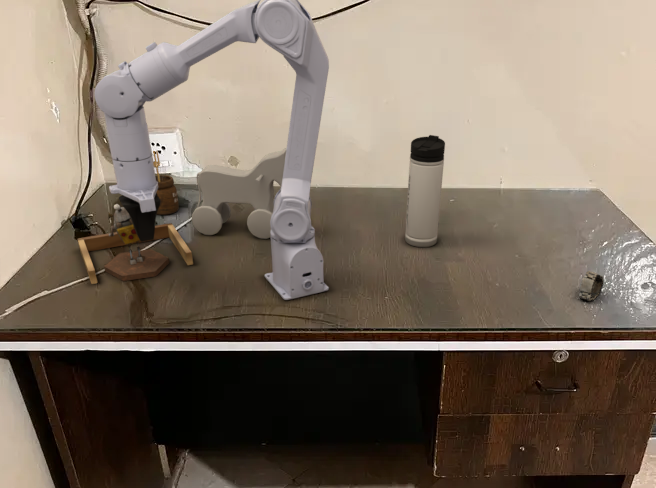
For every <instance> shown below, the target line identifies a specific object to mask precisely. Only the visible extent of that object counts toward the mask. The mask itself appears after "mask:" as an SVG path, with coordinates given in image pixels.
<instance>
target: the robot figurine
mask: <svg viewBox="0 0 656 488" xmlns="http://www.w3.org/2000/svg"><path fill="white" fill-rule="evenodd" d="M113 209H114V210H115V211H114V213H113V214H112V213H110V212H108V217H107V218H108V220H110V219H111V218H113V225H111V226H110V232H109V233H110V234H109V237H110V236H111V237H112V236H114V231H116V232H117V234H118V235H119V237H120V238H121V240H122V241H123V242H124V243H125V244H127V245H126V246H128V247H129V249H128V251H125V252H119V253H118V254H117V255H116V256H114V257H113V258H112V259H110V261H108V262H107V263H106V264H104V265H103V266H104V267H103V270H104V272H105V273H107V274H109V275H111V276H113V277H114V278H116V279H118V280H119V281H122V282H127V281H132V280H140V279H146V278H147V279H148V278H153V277H155V278H156V277H157V276H158V275H159V274H160V273H161V272H162V271H163V270H164V269H165V268H166V267H167V266H168V265H169V264H170V258H169V257H168V256H166V255H164V254H162V253H160V252H158V251H156V250H154V249H151V248H149V249H148V248H147V249H141V246H139V243H138V242H139V241H140V239H139V237H138V236H137V233H136V231H135V228H134V226H133V223H132V220H131V218H130V216H129V213H128V212H127V211H126V209H125V208H124V207H123V206H121V205H120V204H118V203H116V204H114V205H113ZM133 242H136V243H135V244H137V246H136V249H137V250H132V248H131V246H132V244H131V243H133Z"/></svg>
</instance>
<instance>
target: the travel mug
mask: <svg viewBox="0 0 656 488" xmlns="http://www.w3.org/2000/svg"><path fill="white" fill-rule="evenodd" d="M445 148H446V142H445V140H443V139H442V138H440V137H439V135H433V134H429V135H428V136H420V137H416V138H414V139H413V140H412V141H411V142H410V154H409V167H408V180H407V181H408V183H407V196H406V197H407V199H406V216H405V217H406V218H405V231H404V233H405V234H404V240H405V241H404V242H406V243H407V244H408V245H410V246H412V247H416V248H430V247H432V246H434V245H436V244H437V243H438V232H439V220H440V211H441V210H440V209H441V208H440V207H441V199H442V186H443V176H444V167H445V166H444V164H445V162H444V161H445V150H446V149H445Z"/></svg>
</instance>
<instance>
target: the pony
mask: <svg viewBox="0 0 656 488" xmlns="http://www.w3.org/2000/svg"><path fill="white" fill-rule="evenodd" d="M286 149H287V147H284V148H283V149H282V150H279V151H274V152H269V153H268V154H265V155H264V156H263V157H262V158H261V159H260V160H259V162H258V163H257V164H256V165H255V166H253V167H252V168H249V169H241V168H234V167H230V166H226V165H219V164H209V165H206V166H205V167H204V168H203V169H202V170H201V171H199V172H197V174H196V184H197V188H198V197H199V198H198V202H197V205H196V208H195V209H194V211H193V212H192V214H191V223H192V225H193V228H194V229H195V230H196V231H197V232H198V233H200V234H202V235H205V236H213V235H215V234H218V233H219V232H220V231H221V230H222V228H223V224H224V223H226V222H228V220H229V219H230V218H231V213H232V209H231V207H230V204H238V205H239V204H240V205H243V204H244V205H245V204H246V205H251V207H252V208H253V209H254V210H252V211H251V213H250V214H249V215H248V216H247V219H246V226H247V228H248V231H249V232H250V233H251V234H252V235H253V236H254V237H256V238H258V239H263V240H264V239H265V240H266V239H269V238H270V239H271V236H270V231H271V226H270V220H271V216H272V214H273V209H274V198H275V187H274V184H275V183H274V182H276V183H277V184H278V186H279V187H281V186H282V179H283V171H284V164H285V156H286Z"/></svg>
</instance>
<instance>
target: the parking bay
mask: <svg viewBox="0 0 656 488" xmlns="http://www.w3.org/2000/svg"><path fill="white" fill-rule="evenodd" d="M110 233H111V232H108V233H103V234H102V233H101V234H96V235H91V236H85V237H78V238H77V239H76V240H77V244H78V249H79V252H80V255H81V258H82V261H83V264H84V267H85V270H86V273H87V276H88V280H89V281H90V284H91V285H95V284H98V278H97V273H96V268H95V266H94V264H93V261H92V258H91V256H90V253H89V252H93V251H100V250H106V249H111V248H117V247H123V246H128V245H127V244H125V243H124V242H123V241H122V240H121V238H120V237H119V235H118V234H117V231H115V232H113V233H114V236H112V237H111V236H110V237H109V234H110ZM162 239H170V240H171V242H172V244H173V246H174V247H175V248H176V250H177V251H178V253H179V254H180V256H181V257H182V260H184V262H185V264H186V265H187V266H192V265H194V260H193V252H192V251H191V249H190V247H189V246H188V244H187V243H186V242H185V240H184V239H183V238H182V236H181V235H180V233H179V232H178V230H177V229H176V227H175V226H174V224H173V223H172V222H169V223H163V224H157V225H155V233H154V239H153V240H148V241H142V242H141V241H139V242H138V244H140V243H145V242H146V243H147V242H150V241H157V240H162ZM133 244H137V243H136V242H133V243H131V245H133Z"/></svg>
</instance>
